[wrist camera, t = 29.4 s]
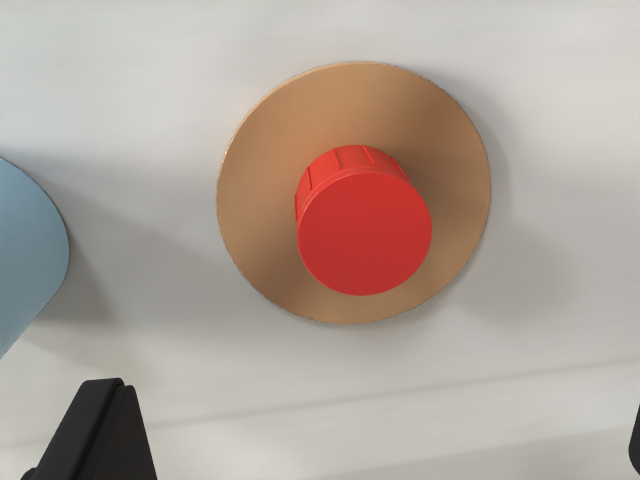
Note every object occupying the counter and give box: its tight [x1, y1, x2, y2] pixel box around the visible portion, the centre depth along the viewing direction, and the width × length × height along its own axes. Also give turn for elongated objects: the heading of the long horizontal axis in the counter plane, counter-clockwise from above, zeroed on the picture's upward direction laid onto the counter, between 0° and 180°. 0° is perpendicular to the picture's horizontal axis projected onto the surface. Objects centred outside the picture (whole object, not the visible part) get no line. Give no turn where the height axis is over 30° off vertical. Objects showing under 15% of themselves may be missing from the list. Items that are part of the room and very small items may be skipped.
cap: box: [294, 145, 432, 296], centre depth 17 cm, size 4×4×3 cm
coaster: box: [216, 61, 491, 324], centre depth 19 cm, size 10×10×1 cm
